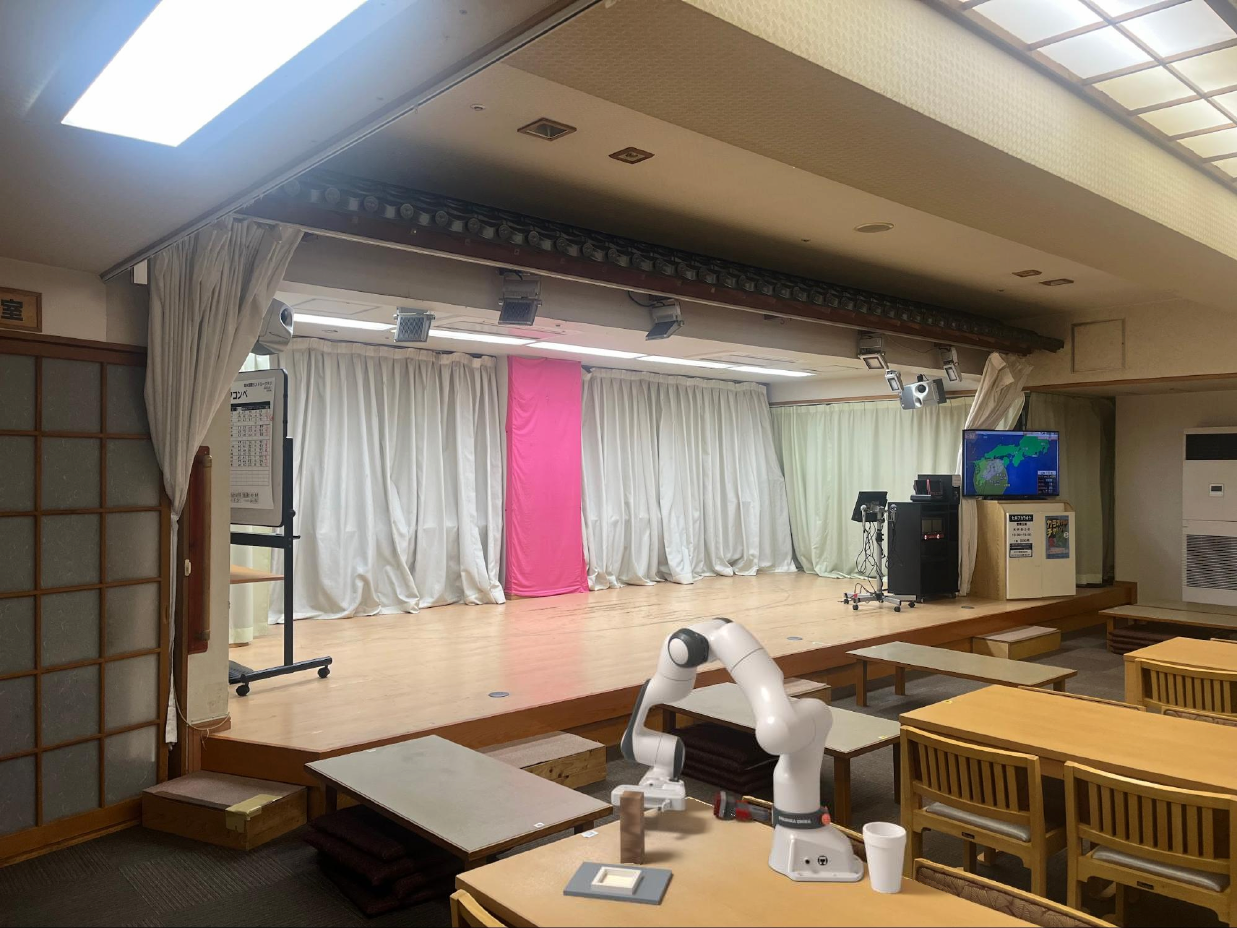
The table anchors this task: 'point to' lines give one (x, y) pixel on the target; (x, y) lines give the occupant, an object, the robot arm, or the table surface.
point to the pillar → (632, 827)
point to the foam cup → (885, 855)
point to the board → (644, 892)
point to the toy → (737, 809)
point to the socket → (616, 880)
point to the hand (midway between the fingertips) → (643, 807)
